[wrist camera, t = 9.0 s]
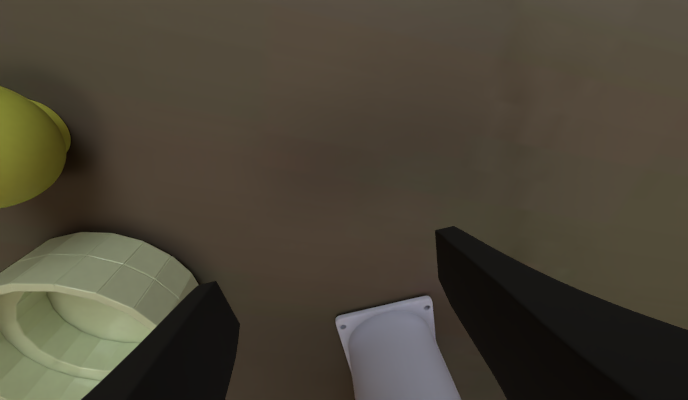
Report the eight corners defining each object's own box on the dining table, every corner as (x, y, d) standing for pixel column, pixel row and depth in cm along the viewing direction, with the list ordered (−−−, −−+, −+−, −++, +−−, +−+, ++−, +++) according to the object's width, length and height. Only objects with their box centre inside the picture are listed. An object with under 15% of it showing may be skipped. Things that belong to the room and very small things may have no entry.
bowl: (231, 330, 23) (211, 396, 18) (93, 362, 23) (39, 436, 18) (160, 209, 18) (109, 260, 13) (-18, 251, 18) (-130, 315, 13)
